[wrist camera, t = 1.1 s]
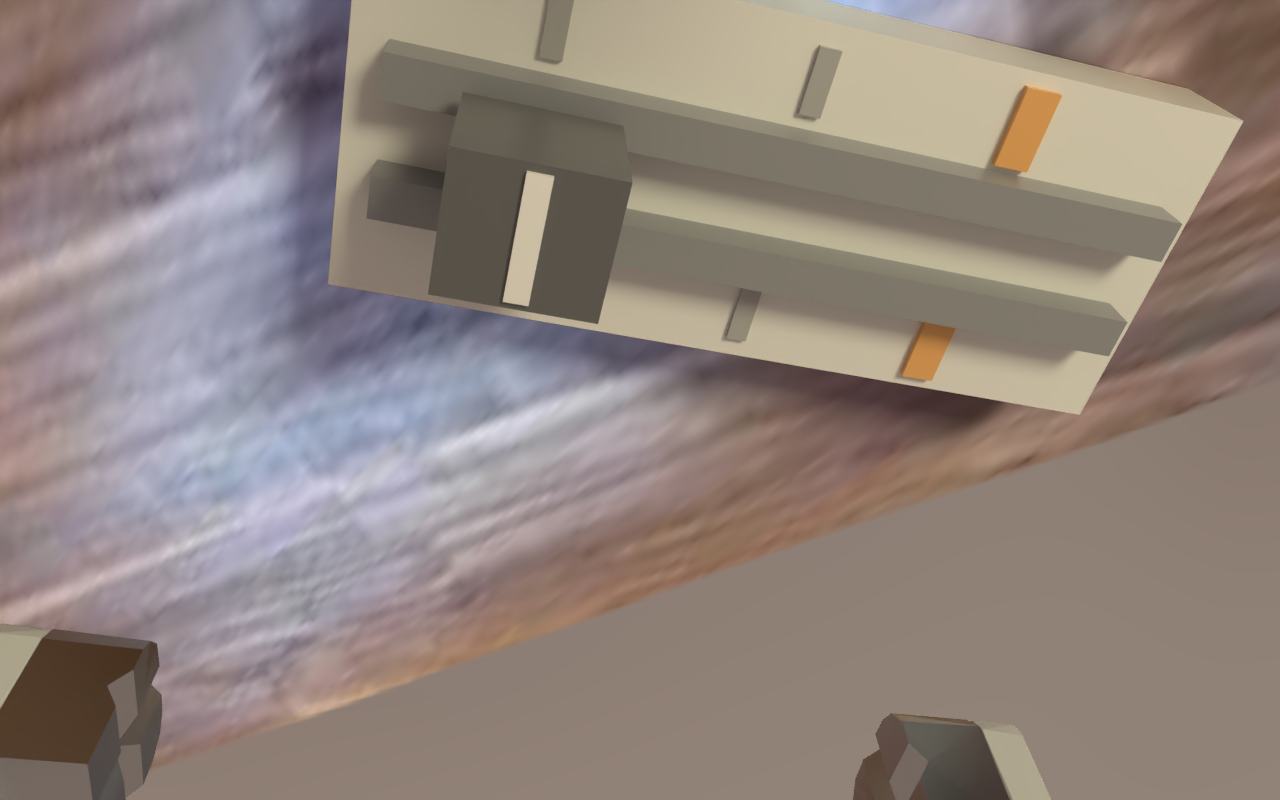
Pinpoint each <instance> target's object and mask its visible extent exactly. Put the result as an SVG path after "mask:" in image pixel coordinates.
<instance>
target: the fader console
mask: <svg viewBox="0 0 1280 800" xmlns="http://www.w3.org/2000/svg"><path fill="white" fill-rule="evenodd" d="M462 92H466V93H471V94H476V95H480V96H485V97H490V98H495V99H499V100H504V101H509V102H513V103H518V104H523V105H528V106H532V107H537V108H542V109H547V110H551V111H556V112H561V113H565V114H570V115H575V116H580V117H584V118H589V119H594V120H599V121H603V122H608V123H613V124H617V125H622V126H623V127H624V133H625V139H626V145H627V151H628V158H629V164H630V170H631V176H632V182H633V183H632V187H631V192H630V196H629V200H628V204H627V208H626V212H625V216H624V220H623V224H622V228H621V232H620V236H619V241H618V245H617V249H616V253H615V257H614V261H613V265H612V269H611V273H610V277H609V281H608V286H607V290H606V294H605V298H604V302H603V306H602V310H601V314H600V318H599V322H598V324H594V323H588V322H583V321H577V320H571V319H565V318H560V317H554V316H548V315H543V314H537V313H531V312H525V311H520V310H514V309H508V308H503V307H497V306H491V305H485V304H480V303H474V302H468V301H462V300H457V299H451V298H445V297H440V296H434V295H428V290H429V283H430V276H431V269H432V262H433V255H434V248H435V240H436V233H437V226H438V219H439V212H440V205H441V198H442V191H443V184H444V177H445V170H446V163H447V156H448V149H449V143H450V139H451V136H452V132H453V128H454V124H455V120H456V116H457V112H458V108H459V104H460V100H461V96H462ZM1242 123H1243V121H1242V120H1241V119H1239V118H1237V117H1235V116H1234V115H1232V114H1230V113H1229V112H1227V111H1225V110H1224V109H1222V108H1220V107H1218V106H1217V105H1215V104H1213V103H1212V102H1210V101H1208V100H1206V99H1205V98H1203V97H1201V96H1200V95H1198V94H1196V93H1195V92H1193V91H1191V90H1189V89H1187V88H1183V87H1179V86H1175V85H1171V84H1166V83H1162V82H1158V81H1154V80H1150V79H1146V78H1142V77H1138V76H1134V75H1129V74H1125V73H1121V72H1117V71H1113V70H1109V69H1105V68H1101V67H1097V66H1092V65H1088V64H1084V63H1080V62H1076V61H1072V60H1068V59H1064V58H1060V57H1055V56H1051V55H1047V54H1043V53H1039V52H1035V51H1031V50H1027V49H1023V48H1018V47H1014V46H1010V45H1006V44H1002V43H998V42H994V41H990V40H986V39H981V38H977V37H973V36H969V35H965V34H961V33H957V32H953V31H949V30H944V29H940V28H936V27H932V26H928V25H924V24H920V23H916V22H912V21H907V20H903V19H899V18H895V17H891V16H887V15H883V14H879V13H875V12H870V11H866V10H862V9H858V8H854V7H850V6H846V5H842V4H838V3H833V2H829V1H825V0H352V2H351V14H350V26H349V38H348V50H347V62H346V74H345V86H344V98H343V110H342V122H341V134H340V146H339V158H338V170H337V182H336V194H335V206H334V218H333V230H332V242H331V254H330V266H329V278H328V284H329V285H335V286H340V287H346V288H352V289H358V290H363V291H369V292H375V293H381V294H386V295H392V296H398V297H404V298H409V299H415V300H421V301H427V302H433V303H438V304H444V305H450V306H456V307H461V308H467V309H473V310H479V311H484V312H490V313H496V314H502V315H508V316H513V317H519V318H525V319H531V320H536V321H542V322H548V323H554V324H559V325H565V326H571V327H577V328H582V329H588V330H594V331H600V332H606V333H611V334H617V335H623V336H629V337H634V338H640V339H646V340H652V341H657V342H663V343H669V344H675V345H681V346H686V347H692V348H698V349H704V350H709V351H715V352H721V353H727V354H732V355H738V356H744V357H750V358H755V359H761V360H767V361H773V362H779V363H784V364H790V365H796V366H802V367H807V368H813V369H819V370H825V371H830V372H836V373H842V374H848V375H853V376H859V377H865V378H871V379H877V380H882V381H888V382H894V383H900V384H905V385H911V386H917V387H923V388H928V389H934V390H940V391H946V392H952V393H957V394H963V395H969V396H975V397H980V398H986V399H992V400H998V401H1003V402H1009V403H1015V404H1021V405H1026V406H1032V407H1038V408H1044V409H1050V410H1055V411H1061V412H1067V413H1073V414H1078V415H1079V414H1080V413H1081V411H1082V409H1083V407H1084V405H1085V404H1086V402H1087V400H1088V398H1089V397H1090V395H1091V393H1092V391H1093V389H1094V388H1095V386H1096V384H1097V382H1098V380H1099V379H1100V377H1101V375H1102V373H1103V371H1104V370H1105V368H1106V366H1107V364H1108V363H1109V361H1110V359H1111V357H1112V355H1113V354H1114V352H1115V350H1116V348H1117V346H1118V345H1119V343H1120V341H1121V339H1122V337H1123V336H1124V334H1125V332H1126V330H1127V329H1128V327H1129V325H1130V323H1131V321H1132V320H1133V318H1134V316H1135V314H1136V312H1137V311H1138V309H1139V307H1140V305H1141V303H1142V302H1143V300H1144V298H1145V296H1146V295H1147V293H1148V291H1149V289H1150V287H1151V286H1152V284H1153V282H1154V280H1155V278H1156V277H1157V275H1158V273H1159V271H1160V269H1161V268H1162V266H1163V264H1164V262H1165V261H1166V259H1167V257H1168V255H1169V253H1170V252H1171V250H1172V248H1173V246H1174V244H1175V243H1176V241H1177V239H1178V237H1179V235H1180V234H1181V232H1182V230H1183V228H1184V227H1185V225H1186V223H1187V221H1188V219H1189V218H1190V216H1191V214H1192V212H1193V210H1194V209H1195V207H1196V205H1197V203H1198V201H1199V200H1200V198H1201V196H1202V194H1203V193H1204V191H1205V189H1206V187H1207V185H1208V184H1209V182H1210V180H1211V178H1212V176H1213V175H1214V173H1215V171H1216V169H1217V167H1218V166H1219V164H1220V162H1221V160H1222V159H1223V157H1224V155H1225V153H1226V151H1227V150H1228V148H1229V146H1230V144H1231V142H1232V141H1233V139H1234V137H1235V135H1236V133H1237V132H1238V130H1239V128H1240V126H1241V125H1242Z"/></svg>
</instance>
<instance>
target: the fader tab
mask: <svg viewBox="0 0 1280 800" xmlns="http://www.w3.org/2000/svg"><path fill="white" fill-rule="evenodd" d="M632 183H633V182H632V176H631V170H630V164H629V158H628V151H627V145H626V139H625V133H624V127H623V126H622V125H617V124H613V123H608V122H603V121H599V120H594V119H589V118H584V117H580V116H575V115H570V114H565V113H561V112H556V111H551V110H547V109H542V108H537V107H532V106H528V105H523V104H518V103H513V102H509V101H504V100H499V99H495V98H490V97H485V96H480V95H476V94H471V93H466V92H462V96H461V100H460V104H459V108H458V112H457V116H456V120H455V124H454V128H453V132H452V136H451V139H450V143H449V149H448V156H447V163H446V170H445V177H444V184H443V191H442V198H441V205H440V212H439V219H438V226H437V233H436V240H435V248H434V255H433V262H432V269H431V276H430V283H429V290H428V295H434V296H440V297H445V298H451V299H457V300H462V301H468V302H474V303H480V304H485V305H491V306H497V307H503V308H508V309H514V310H520V311H525V312H531V313H537V314H543V315H548V316H554V317H560V318H565V319H571V320H577V321H583V322H588V323H594V324H598V322H599V318H600V314H601V310H602V306H603V302H604V298H605V294H606V290H607V286H608V281H609V277H610V273H611V269H612V265H613V261H614V257H615V253H616V249H617V245H618V241H619V236H620V232H621V228H622V224H623V220H624V216H625V212H626V208H627V204H628V200H629V196H630V192H631V187H632Z"/></svg>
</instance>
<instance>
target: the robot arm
mask: <svg viewBox="0 0 1280 800" xmlns="http://www.w3.org/2000/svg"><path fill="white" fill-rule="evenodd" d="M158 668H159V657H158V648H157V643H154V642H152V641H146V640H138V639H130V638H122V637H114V636H106V635H98V634H89V633H81V632H73V631H65V630H57V629H53V630H52V629H44V628H35V627H27V626H18V625H10V624H0V800H126V799H125V798H126V797H127V796H128V795H130V794H131V793H132V792H134V791H135V790H136V789H138V788H139V787H140V786H142V785H143V784H144V781H145V779H146V776H147V774H148V771H149V769H150V766H151V764H152V761H153V758H154V754H155V750H156V746H157V742H158V738H159V735H160V729H161V718H162V697H161V694H160V693H159V692H158V691H157V690H156V689H155V688H154V687H153V686H152V685H151V684H152V681H153V679H154V677H155V675H156V672H157V670H158ZM876 737H877V741H878V744H879V748H880V749H879V750H878V751H876V752H875V753H873V754H872V755H870V756H868V757H867V758H865V759H864V760H863V762H862V764H861V767H860V769H859V771H858V774H857V777H856V779H855V787H854V797H853V800H1051V798H1050V796H1049V793H1048V791H1047V789H1046V787H1045V785H1044V783H1043V780H1042V778H1041V776H1040V774H1039V771H1038V769H1037V767H1036V765H1035V763H1034V760H1033V758H1032V756H1031V754H1030V752H1029V749H1028V747H1027V745H1026V743H1025V741H1024V738H1023V736H1022V734H1021V732H1019V730H1017V729H1016V727H1014V726H1013V725H1010V724H1000V723H990V722H979V721H968V720H962V719H950V718H938V717H928V716H916V715H905V714H892V713H891V714H890V715H888V716H887V717H886V718H884V719H883V721H882V722H881V724H880V726H879V728H878V730H877V732H876Z"/></svg>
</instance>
